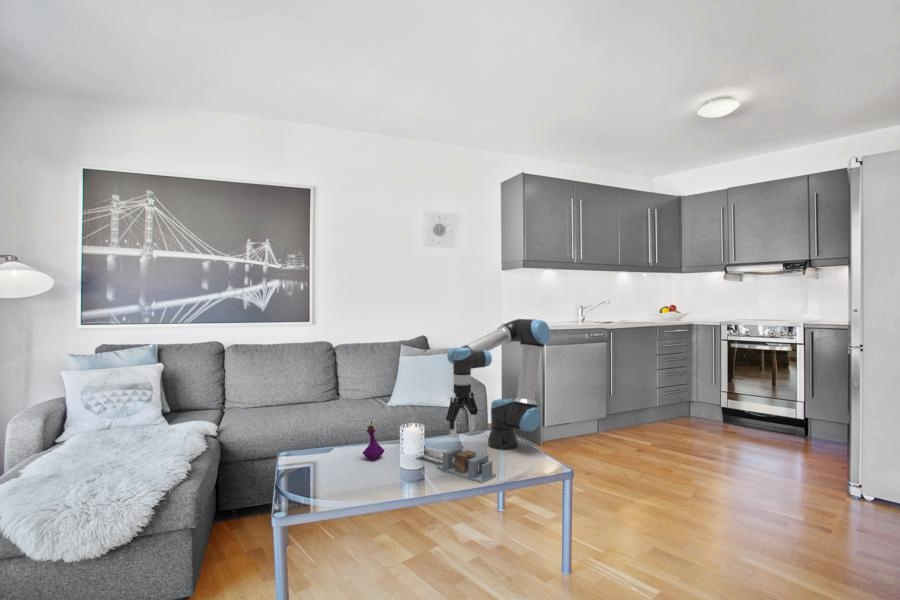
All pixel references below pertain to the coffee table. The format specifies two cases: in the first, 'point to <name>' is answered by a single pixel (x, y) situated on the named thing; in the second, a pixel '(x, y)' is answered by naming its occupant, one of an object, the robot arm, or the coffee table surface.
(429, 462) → the coffee table surface
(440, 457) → the shaft
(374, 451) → the perfume bottle
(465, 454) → the spacer
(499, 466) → the coffee table surface
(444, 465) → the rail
